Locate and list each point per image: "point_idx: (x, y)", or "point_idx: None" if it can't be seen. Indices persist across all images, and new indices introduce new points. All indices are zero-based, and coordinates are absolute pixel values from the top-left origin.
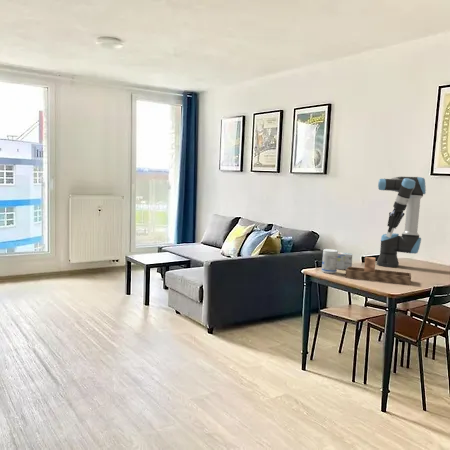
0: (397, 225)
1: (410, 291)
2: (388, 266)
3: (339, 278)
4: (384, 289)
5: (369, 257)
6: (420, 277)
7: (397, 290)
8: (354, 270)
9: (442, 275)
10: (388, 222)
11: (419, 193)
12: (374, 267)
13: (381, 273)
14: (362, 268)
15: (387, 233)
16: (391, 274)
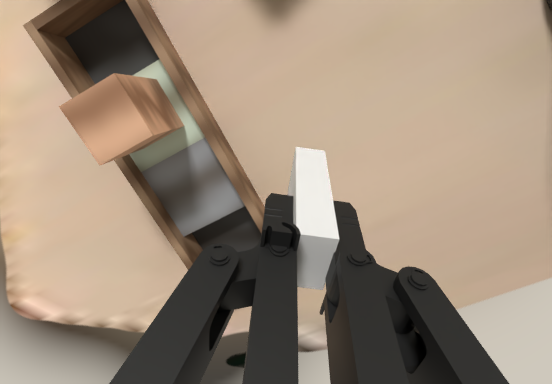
0: (401, 341)
1: (119, 323)
2: (549, 1)
3: (9, 27)
4: (49, 261)
5: (114, 107)
6: (401, 238)
7: (85, 293)
8: (58, 66)
9: (534, 272)
10: (163, 317)
11: None
12: (125, 155)
13: (139, 193)
14: (158, 55)
15: (295, 172)
16: (166, 231)
